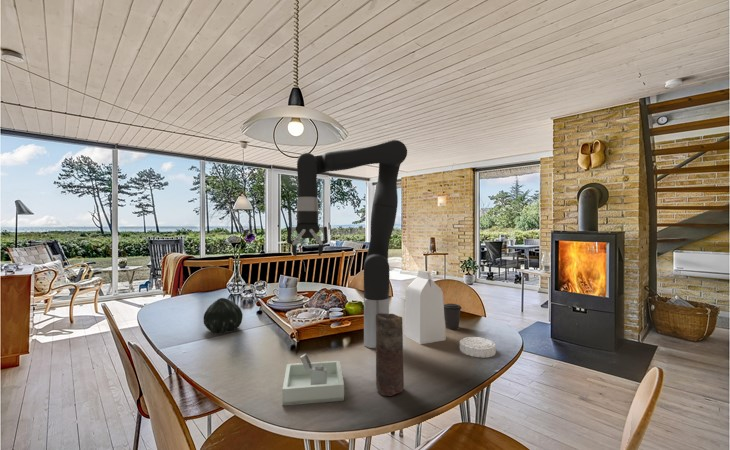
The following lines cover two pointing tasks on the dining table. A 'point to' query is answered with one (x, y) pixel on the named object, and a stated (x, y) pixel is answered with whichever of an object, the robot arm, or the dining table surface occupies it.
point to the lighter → (315, 371)
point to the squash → (223, 316)
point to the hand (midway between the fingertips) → (307, 255)
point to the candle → (389, 354)
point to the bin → (303, 392)
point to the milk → (424, 310)
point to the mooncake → (477, 347)
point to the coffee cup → (452, 316)
